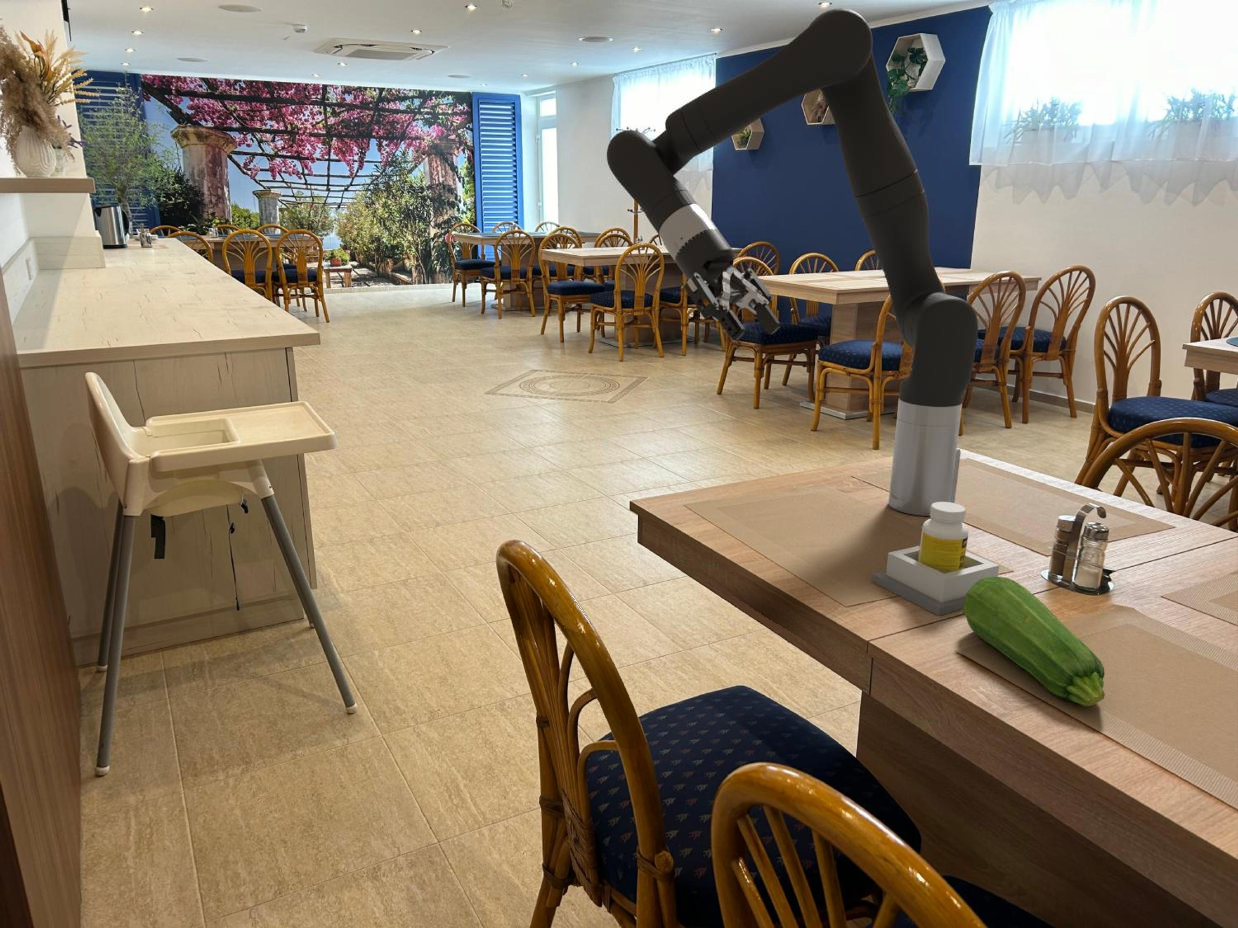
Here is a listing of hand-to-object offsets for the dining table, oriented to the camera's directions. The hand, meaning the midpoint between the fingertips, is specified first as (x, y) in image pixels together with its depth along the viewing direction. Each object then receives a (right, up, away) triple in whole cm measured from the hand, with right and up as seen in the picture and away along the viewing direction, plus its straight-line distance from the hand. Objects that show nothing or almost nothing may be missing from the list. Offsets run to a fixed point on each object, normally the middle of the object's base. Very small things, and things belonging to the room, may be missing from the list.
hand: (758, 333), depth 125 cm
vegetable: (+24, -40, -31) cm, 56 cm away
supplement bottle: (+21, -33, -12) cm, 41 cm away
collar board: (+21, -34, -12) cm, 41 cm away
